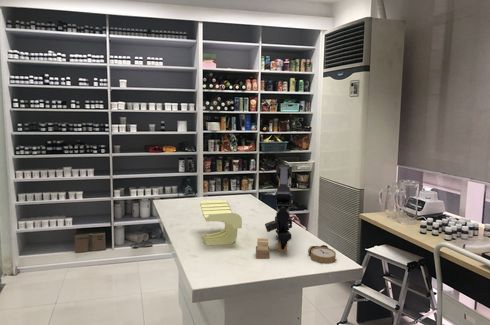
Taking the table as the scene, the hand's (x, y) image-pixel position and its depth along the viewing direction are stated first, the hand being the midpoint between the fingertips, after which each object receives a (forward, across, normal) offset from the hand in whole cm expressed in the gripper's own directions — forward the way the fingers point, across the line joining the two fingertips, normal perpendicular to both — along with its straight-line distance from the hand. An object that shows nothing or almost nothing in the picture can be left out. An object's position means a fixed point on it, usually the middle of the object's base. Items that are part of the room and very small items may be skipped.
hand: (282, 247), depth 188 cm
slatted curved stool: (+1, -14, -31) cm, 34 cm away
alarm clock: (+2, +10, +17) cm, 20 cm away
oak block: (-3, +9, -10) cm, 14 cm away
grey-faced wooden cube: (+1, 0, 0) cm, 1 cm away
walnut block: (+1, +9, -10) cm, 14 cm away
